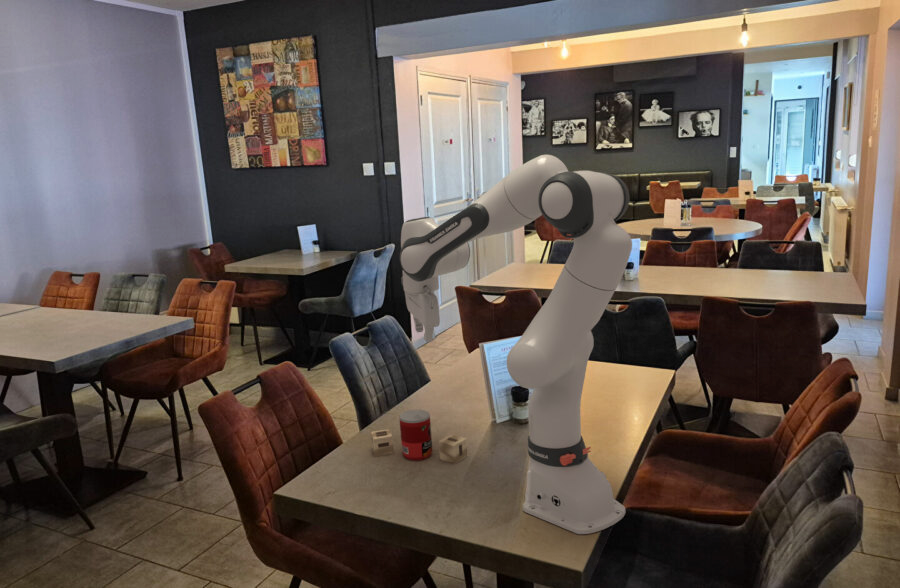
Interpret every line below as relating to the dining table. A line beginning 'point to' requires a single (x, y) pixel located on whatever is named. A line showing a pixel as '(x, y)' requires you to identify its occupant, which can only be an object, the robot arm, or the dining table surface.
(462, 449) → the marked cube near
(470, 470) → the dining table surface
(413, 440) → the canned food
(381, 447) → the marked cube far
